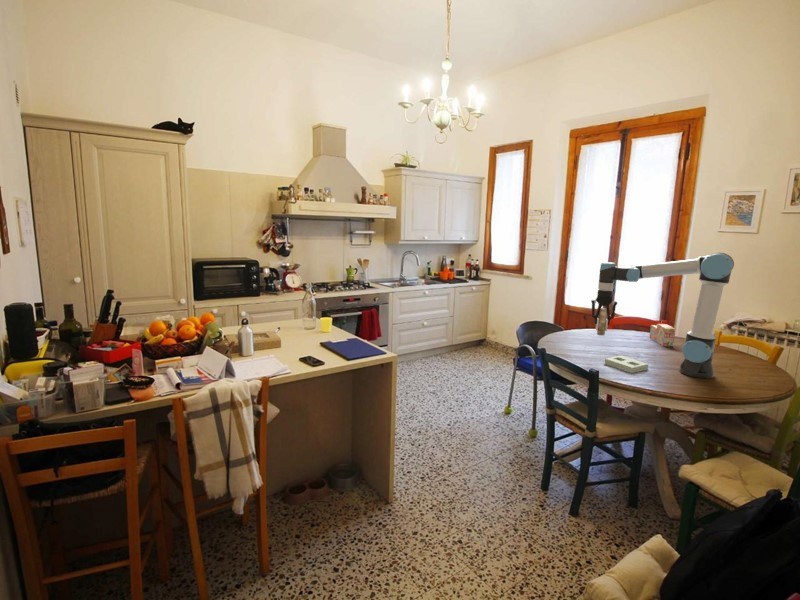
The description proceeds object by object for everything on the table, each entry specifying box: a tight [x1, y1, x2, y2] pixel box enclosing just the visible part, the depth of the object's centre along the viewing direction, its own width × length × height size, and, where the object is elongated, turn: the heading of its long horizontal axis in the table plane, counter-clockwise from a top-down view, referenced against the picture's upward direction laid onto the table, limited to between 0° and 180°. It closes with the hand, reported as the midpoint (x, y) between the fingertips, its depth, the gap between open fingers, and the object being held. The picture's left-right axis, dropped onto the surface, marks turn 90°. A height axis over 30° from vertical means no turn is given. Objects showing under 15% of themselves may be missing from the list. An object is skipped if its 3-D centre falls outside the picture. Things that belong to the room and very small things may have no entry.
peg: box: [596, 307, 607, 336], centre depth 236 cm, size 4×4×15 cm
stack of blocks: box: [649, 323, 676, 347], centre depth 279 cm, size 21×6×12 cm, turn 170°
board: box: [604, 355, 649, 374], centre depth 228 cm, size 16×14×3 cm
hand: (601, 330), depth 237 cm, fingers closed on peg, 4 cm apart
